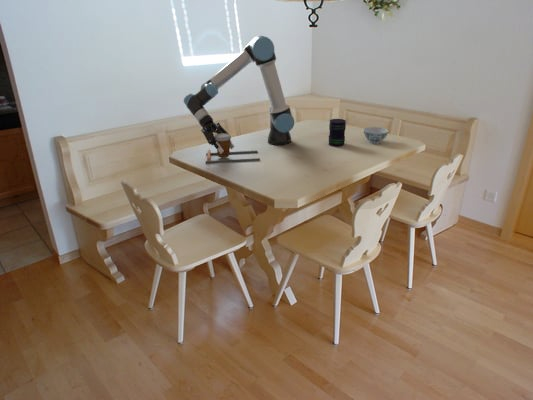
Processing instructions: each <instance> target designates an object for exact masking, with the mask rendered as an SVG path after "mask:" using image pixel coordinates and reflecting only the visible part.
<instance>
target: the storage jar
mask: <svg viewBox="0 0 533 400" xmlns="http://www.w3.org/2000/svg"><path fill="white" fill-rule="evenodd" d="M346 123H347V121H346V119H344V118H332V119H329V126H328V127H329V134H328V146H330V147H335V148H336V147H337V148H338V147H339V148H340V147H343V146H345V140H346V136H345V132H346Z"/></svg>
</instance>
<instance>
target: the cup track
mask: <svg viewBox="0 0 533 400" xmlns="http://www.w3.org/2000/svg"><path fill="white" fill-rule="evenodd" d="M257 153H258V150H244V151H243V150H239V151H229V155H239V154H240V155H241V154H257ZM205 155H206V160H205V164H219V163H220V164H221V163H222V164H224V163H239V162H240V163H242V162H257V161H258V162H259V161H261V158H259V157H256V158H241V159H238V158H237V159H219V160H211V158H212V156H218V153H217V152H211V149H207V152H206V153H205Z"/></svg>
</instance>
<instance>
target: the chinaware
mask: <svg viewBox="0 0 533 400" xmlns="http://www.w3.org/2000/svg"><path fill="white" fill-rule="evenodd" d="M388 134H389V130H388V129H387V128H385V127H377V126H369V127H365V128H363V135H364V137H365V139H366V140H368V141H369V143H370V144H375V145H377V144H381V142H382V141H384V140H385V139H386V137H387V136H388Z"/></svg>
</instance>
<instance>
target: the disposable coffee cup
mask: <svg viewBox="0 0 533 400" xmlns="http://www.w3.org/2000/svg"><path fill="white" fill-rule="evenodd" d="M227 133H228V132H227ZM227 133H220V134H217V133H215V134H214V138H215V141H216V142H218V143H219V145H220V146H221V147H222V149H223V150H224V151H223V153H222V154H220V152H219V151H218V150H217V149H216V153H218V155H217V157H218V158H228V157H230V154H229V152H231V149H230V141H231V139H232V136H231V134H229V133H228V134H227Z"/></svg>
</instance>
